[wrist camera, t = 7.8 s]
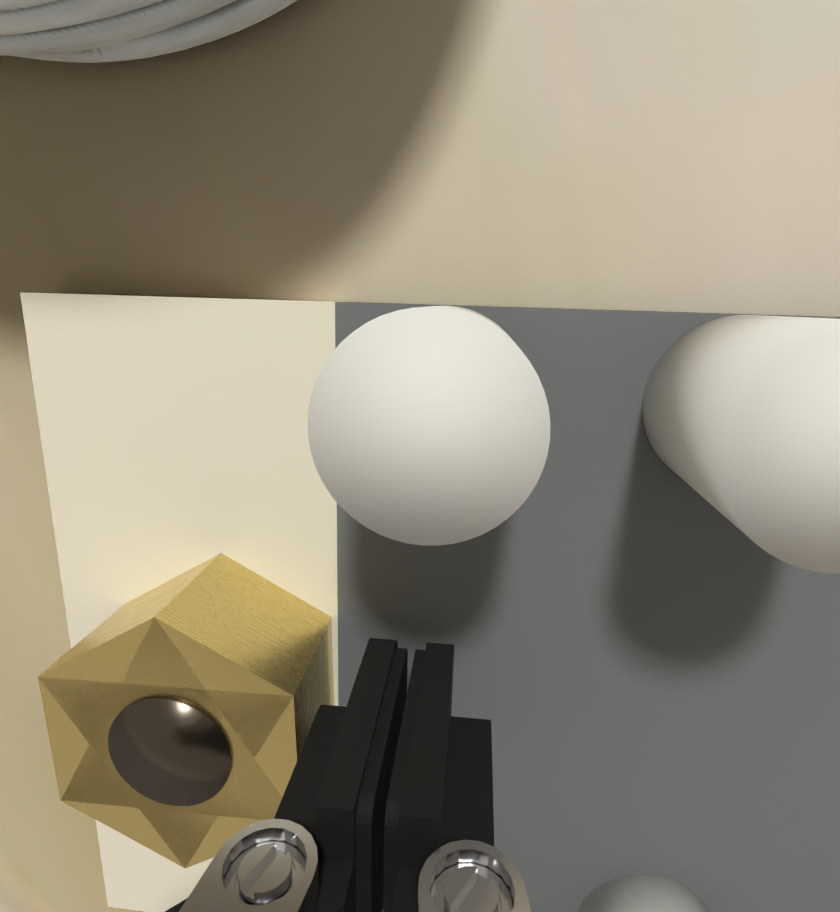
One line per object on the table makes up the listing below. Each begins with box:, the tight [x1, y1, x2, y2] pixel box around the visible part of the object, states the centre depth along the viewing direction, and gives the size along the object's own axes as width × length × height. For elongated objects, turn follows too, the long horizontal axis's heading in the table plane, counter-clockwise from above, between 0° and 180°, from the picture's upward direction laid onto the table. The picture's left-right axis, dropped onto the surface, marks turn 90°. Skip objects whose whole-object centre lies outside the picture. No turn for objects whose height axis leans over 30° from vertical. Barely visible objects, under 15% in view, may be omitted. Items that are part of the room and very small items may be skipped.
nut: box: [38, 553, 334, 868], centre depth 11 cm, size 4×5×3 cm
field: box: [20, 292, 840, 912], centre depth 11 cm, size 22×15×4 cm
